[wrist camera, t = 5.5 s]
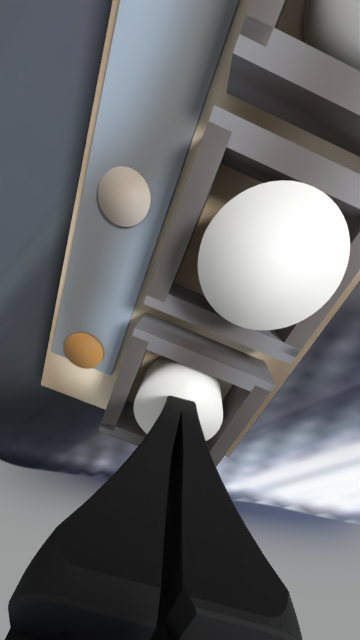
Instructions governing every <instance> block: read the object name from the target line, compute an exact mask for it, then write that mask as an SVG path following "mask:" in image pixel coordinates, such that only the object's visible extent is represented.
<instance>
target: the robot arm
mask: <svg viewBox="0 0 360 640" xmlns="http://www.w3.org/2000/svg"><path fill="white" fill-rule="evenodd" d="M8 611H9V619H10V625H11V628H10V630H9V632H8V635H7V636H6V639H5V640H302V636H301V632H300V627H299V624H298V620H297V617H296V613H295V610H294V607H293V604H292V601H291V598H290V595H289V591H288V590H287V588H286V587H285V585H284V584H283V582H282V581H281V580H280V578H279V577H278V575H277V574H276V572H275V571H274V569H273V568H272V567H271V565H270V564H269V562H268V561H267V559H266V558H265V556H264V555H263V553H262V551H261V550H260V548H259V547H258V545H257V543H256V542H255V540H254V539H253V537H252V535H251V534H250V532H249V530H248V529H247V527H246V525H245V523H244V522H243V520H242V518H241V516H240V515H239V513H238V511H237V509H236V508H235V506H234V504H233V502H232V500H231V498H230V496H229V494H228V492H227V490H226V488H225V486H224V484H223V482H222V480H221V478H220V476H219V473H218V471H217V469H216V466H215V464H214V461H213V459H212V456H211V454H210V451H209V448H208V446H207V443H206V440H205V437H204V434H203V431H202V427H201V424H200V420H199V416H198V412H197V407H196V404H195V402H193V401H190V400H186V399H182V398H178V397H174V396H171V395H170V396H168V397H167V400H166V403H165V405H164V407H163V409H162V411H161V413H160V415H159V417H158V418H157V420H156V422H155V423H154V425H153V426H152V428H151V429H150V431H149V432H148V434H147V435H146V436H145V438H144V439H143V441H142V442H141V443H140V445H139V446H138V447H137V448H136V450H135V451H134V452H133V453H132V455H131V456H130V457H129V458H128V459H127V460H126V462H125V463H124V464H123V465H122V466H121V467H120V468H119V469H118V470H117V471H116V473H115V474H114V475H113V476H112V477H111V478H110V479H109V480H108V481H107V482H106V483H105V484H104V485H103V486H102V487H101V488H100V489H99V490H98V491H97V492H96V493H95V494H94V495H92V496H91V497H90V498H89V499H88V500H87V501H86V502H85V503H84V504H83V505H82V506H81V507H79V508H78V509H77V510H76V511H75V512H74V513H72V514H71V515H70V516H69V517H68V518H67V519H65V520H64V521H63V522H62V523H61V524H60V525H59V526H58V527H56V529H55V530H54V531H53V533H52V534H51V535H50V536H49V538H48V539H47V540H46V542H45V543H44V544H43V545H42V547H41V548H40V550H39V551H38V552H37V554H36V555H35V557H34V558H33V560H32V561H31V563H30V564H29V566H28V567H27V569H26V571H25V572H24V574H23V576H22V578H21V580H20V582H19V584H18V586H17V588H16V589H15V591H14V593H13V595H12V597H11V599H10V601H9V605H8Z"/></svg>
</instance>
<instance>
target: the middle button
mask: <svg viewBox="0 0 360 640" xmlns="http://www.w3.org/2000/svg"><path fill="white" fill-rule="evenodd" d="M349 255H350V237H349V231H348V227H347V223H346V221H345V218H344V216H343V214H342V212H341V211H340V209H339V208H338V206H337V205H336V204H335V203H334V201H333V200H332V199H331V198H330V197H328V196H327V195H326V194H325V193H324V192H322V191H320V190H319V189H317V188H315V187H313V186H310V185H308V184H305V183H301V182H296V181H284V180H281V181H271V182H267V183H263V184H259V185H256V186H254V187H251V188H249V189H247V190H245V191H243V192H242V193H240V194H238V195H237V196H235V197H234V198H233V199H231V200H230V201H229V202H228V203H227V204H226V205H224V206H223V207H222V208H221V209H220V211H219V212H218V213H217V214H216V215H215V217H214V218H213V219H212V220H211V222H210V223H209V225H208V227H207V229H206V231H205V233H204V235H203V238H202V241H201V245H200V249H199V254H198V276H199V282H200V285H201V288H202V291H203V293H204V295H205V297H206V299H207V301H208V302H209V304H210V305H211V306H212V307H213V309H214V310H215V311H216V312H217V313H218V314H219V315H221V316H222V317H223V318H225V319H226V320H228V321H229V322H231V323H233V324H235V325H238V326H240V327H243V328H247V329H252V330H275V329H281V328H285V327H288V326H291V325H294V324H296V323H298V322H300V321H302V320H304V319H306V318H308V317H309V316H311V315H312V314H314V313H315V312H316V311H317V310H319V309H320V308H321V307H322V306H323V305H324V304H325V303H326V302H327V301H328V300H329V299H330V298H331V296H332V295H333V294H334V293H335V291H336V289H337V288H338V286H339V285H340V283H341V281H342V278H343V276H344V274H345V271H346V268H347V265H348V260H349Z"/></svg>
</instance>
